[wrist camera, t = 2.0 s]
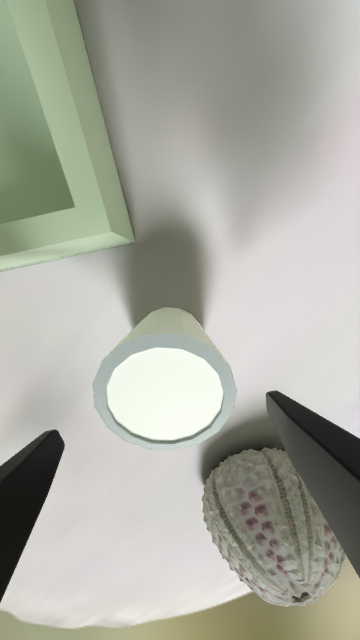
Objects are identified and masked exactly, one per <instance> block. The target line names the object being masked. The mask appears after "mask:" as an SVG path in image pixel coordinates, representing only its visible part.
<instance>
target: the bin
mask: <svg viewBox="0 0 360 640" xmlns="http://www.w3.org/2000/svg"><path fill="white" fill-rule="evenodd" d="M131 243H135V239H134V235H133V231H132V227H131V223H130V219H129V215H128V211H127V207H126V203H125V200H124V196H123V192H122V188H121V184H120V180H119V176H118V172H117V168H116V164H115V160H114V156H113V152H112V149H111V145H110V141H109V137H108V133H107V129H106V125H105V121H104V117H103V113H102V109H101V105H100V101H99V98H98V94H97V90H96V86H95V82H94V78H93V74H92V70H91V66H90V62H89V58H88V54H87V51H86V47H85V43H84V39H83V35H82V31H81V27H80V23H79V19H78V15H77V11H76V7H75V3H74V0H0V272H1V271H6V270H10V269H15V268H20V267H24V266H29V265H34V264H38V263H43V262H48V261H52V260H57V259H61V258H66V257H71V256H75V255H80V254H85V253H89V252H94V251H99V250H103V249H108V248H112V247H117V246H122V245H126V244H131Z"/></svg>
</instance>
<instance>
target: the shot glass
mask: <svg viewBox="0 0 360 640" xmlns="http://www.w3.org/2000/svg"><path fill="white" fill-rule="evenodd" d="M93 392H94V404H95V408H96V410H97V411H98V413H99V415H100V416H101V418H102V420H103V421H104V423H105V425H106V426H107V427H108V428H109V429H110V430H111V431H113V432H114V433H115V434H117V435H118V436H119V437H121V438H122V439H123V440H125V441H126V442H129V443H132V444H135V445H138V446H141V447H144V448H147V449H150V450H178V449H182V448H186V447H190V446H194V445H198V444H200V443H201V442H203V441H204V440H206V439H208V438H209V437H211V436H212V435H214V434H215V433H217V432H219V430H220V429H221V428H222V426H223V425H224V424H225V422H226V421H227V420H228V418H229V417H230V416H231V414H232V413H233V408H234V403H235V398H236V394H237V388H236V385H235V381H234V378H233V374H232V370H231V367H230V366H229V364H228V363H227V362H226V360H225V359H224V357H223V356H222V354H221V353H220V352H219V350H218V349H217V347H216V346H215V345H214V343H213V342H212V340H211V339H210V337H209V336H208V335H207V333H206V332H205V330H204V329H203V328H202V326H201V325H200V323H199V322H198V321H197V320H196V319H195V318H194V317H193V315H192V314H190V313H188V312H186V311H184V310H182V309H180V308H171V307H164V308H161V309H158V310H155V311H152V312H151V313H150V314H148V315H147V316H146V317H145V318H144V319H143V320H142V321H141V322H140V323H139V324H138V325H137V326H136V327H135V328H134V329H133V330H132V331H131V332H130V333H129V334H128V335H127V336H126V337H125V338H124V339H123V340H122V341H121V342H120V343H119V344H118V345H117V346H116V347H115V348H114V349H113V350H112V351H111V352H110V353H109V354H108V355H107V356H106V357H105V358H104V359H103V361H102V363H101V365H100V368H99V370H98V372H97V375H96V377H95V379H94V382H93Z"/></svg>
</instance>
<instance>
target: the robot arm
mask: <svg viewBox="0 0 360 640" xmlns="http://www.w3.org/2000/svg"><path fill="white" fill-rule="evenodd" d="M266 404H267V411H268V414H269V416H270V418H271V420H272V422H273V425H274V427H275V429H276V431H277V433H278V435H279V437H280V440H281V442H282V444H283V446H284V448H285V450H286V452H287V454H288V456H289V458H290V460H291V461H292V463H293V465H294V467H295V468H296V470H297V472H298V473H299V475H300V477H301V478H302V480H303V482H304V484H305V485H306V487H307V489H308V490H309V492H310V494H311V496H312V497H313V499H314V501H315V502H316V504H317V506H318V508H319V509H320V511H321V513H322V514H323V516H324V518H325V520H326V521H327V523H328V525H329V526H330V528H331V530H332V532H333V533H334V535H335V537H336V538H337V540H338V542H339V543H340V545H341V547H342V549H343V550H344V552H345V554H346V555H347V557H348V559H349V560H350V562H351V564H352V565H353V567H354V569H355V571H356V573H357V574H358V576H359V578H360V438H358V437H356V436H354V435H353V434H351V433H349V432H348V431H346V430H344V429H342V428H341V427H339V426H337V425H335V424H334V423H332V422H330V421H329V420H327V419H325V418H323V417H322V416H320V415H318V414H316V413H315V412H313V411H311V410H310V409H308V408H306V407H304V406H303V405H301V404H299V403H298V402H296V401H294V400H292V399H291V398H289V397H287V396H285V395H284V394H282V393H280V392H279V391H270V392H267V393H266ZM64 446H65V444H64V441H63V439H62V437H61V436H60V434H59V432H58V431H57V430H49V431H46V432H44V433H43V434H41V435H40V436H39V437H37V438H36V439H35V440H34V441H32V442H31V443H30V444H28V445H27V446H26V447H24V448H23V449H22V450H21V451H19V452H18V453H17V454H15V455H14V456H13V457H12V458H10V459H9V460H8V461H6V462H5V463H4V464H2V465H1V466H0V602H1V600H2V598H3V596H4V593H5V591H6V589H7V586H8V584H9V582H10V580H11V577H12V575H13V573H14V570H15V568H16V566H17V564H18V561H19V559H20V557H21V554H22V552H23V550H24V548H25V545H26V543H27V541H28V539H29V536H30V534H31V532H32V529H33V527H34V525H35V523H36V520H37V518H38V516H39V513H40V511H41V509H42V507H43V504H44V502H45V500H46V497H47V495H48V492H49V490H50V487H51V484H52V482H53V479H54V476H55V473H56V470H57V468H58V465H59V462H60V459H61V456H62V453H63V451H64Z"/></svg>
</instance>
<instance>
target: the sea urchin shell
mask: <svg viewBox="0 0 360 640" xmlns="http://www.w3.org/2000/svg"><path fill="white" fill-rule="evenodd" d="M202 501H203V513H204V515H205V516H204V522H205V523H206V524H207V530H208V531H209V532H210V533H211V535H212V540H213V543H214V544H216V545H217V547H218V548H219V551H220V553H221V555H222V558H223V559H226V560H227V562H228V563H229V566H230V570H233V571H235V572H236V573H237V574H238V576H239V578H240V581H243V582H245V583H246V584H247V585H248V586H249V587H250V589H251V590H253V591H254V592H255V593H256V594H257V595H259V596H260V597H261V598H262V599H263V600H264V601H266V602H268V603H271V604H274V605H281V606H285V607H286V606H289V605H295V606H299V605H300V606H305V605H310V604H312V603H315V602H317V600H318V599H319V598H320V597H321V595H322V594H323V593H324V592H325V591H327V590H328V589H329V588H331V587H332V586H333V584H334V582H335V581H336V579H337V578H339V574H340V572H341V570H342V568H343V566H344V560H345V556H346V554H345V552H344V550H343V549H342V547H341V545H340V543H339V542H338V540H337V538H336V537H335V535H334V533H333V532H332V530H331V528H330V526H329V525H328V523H327V521H326V520H325V518H324V516H323V514H322V513H321V511H320V509H319V508H318V506H317V504H316V502H315V501H314V499H313V497H312V496H311V494H310V492H309V490H308V489H307V487H306V485H305V484H304V482H303V480H302V478H301V477H300V475H299V473H298V472H297V470H296V468H295V467H294V465H293V463H292V461H291V460H290V458H289V456H288V454H287V452H286V450H285V451H282V450H281V449H280V450H277V449H276V448H273V449H269V448H266V447H265V448H263V449H262V450H261V451H255V450H253V449H249V450H247V451H246V450H243V451H242V452H241V453H240V454H234V455H233V456H230V455H229V456H228V458H227V459H225V460H224V462H220V465H219V467H216V468H215V470H212V471H211V474H210V476H209V478H208V479H206V486H205V488H204V495H203V497H202Z"/></svg>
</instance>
